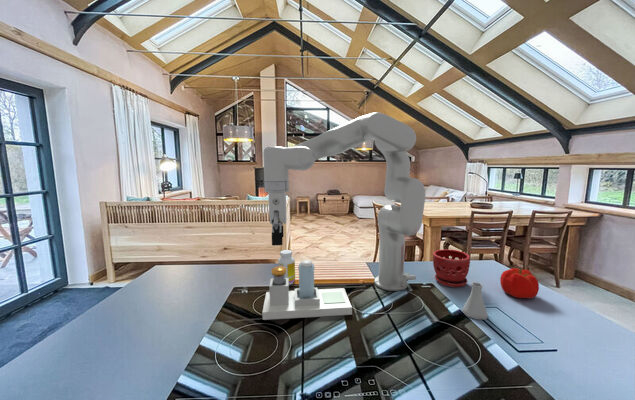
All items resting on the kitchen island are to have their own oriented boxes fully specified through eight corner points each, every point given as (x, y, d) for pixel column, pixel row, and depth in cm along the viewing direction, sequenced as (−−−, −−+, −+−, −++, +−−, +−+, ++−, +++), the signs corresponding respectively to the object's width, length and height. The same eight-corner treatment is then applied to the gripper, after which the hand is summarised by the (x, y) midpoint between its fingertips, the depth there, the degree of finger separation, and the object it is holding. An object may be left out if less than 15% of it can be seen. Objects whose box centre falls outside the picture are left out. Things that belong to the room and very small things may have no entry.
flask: (484, 310, 87) (487, 281, 86) (490, 322, 80) (493, 291, 79) (459, 306, 90) (462, 278, 88) (463, 318, 83) (466, 287, 81)
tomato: (521, 304, 90) (524, 279, 89) (491, 288, 102) (493, 265, 101) (546, 301, 92) (550, 276, 91) (514, 285, 104) (517, 263, 103)
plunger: (286, 288, 91) (286, 266, 90) (286, 295, 86) (286, 271, 85) (272, 289, 90) (272, 266, 89) (271, 296, 86) (270, 272, 85)
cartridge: (313, 295, 92) (313, 259, 90) (315, 302, 87) (314, 264, 86) (298, 295, 92) (298, 259, 90) (299, 303, 87) (298, 265, 85)
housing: (344, 294, 98) (344, 271, 96) (351, 314, 85) (352, 287, 84) (266, 298, 95) (265, 274, 94) (262, 319, 82) (261, 292, 81)
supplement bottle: (296, 278, 111) (296, 249, 109) (293, 286, 104) (293, 254, 103) (280, 278, 112) (280, 248, 110) (276, 285, 105) (275, 254, 103)
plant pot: (448, 273, 116) (450, 246, 114) (475, 286, 103) (478, 257, 102) (424, 278, 111) (426, 250, 109) (450, 292, 99) (452, 261, 97)
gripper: (288, 189, 75) (289, 249, 78) (289, 184, 92) (290, 233, 95) (261, 189, 75) (263, 250, 77) (267, 184, 92) (268, 234, 94)
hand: (278, 240), depth 86 cm, fingers open, 8 cm apart
